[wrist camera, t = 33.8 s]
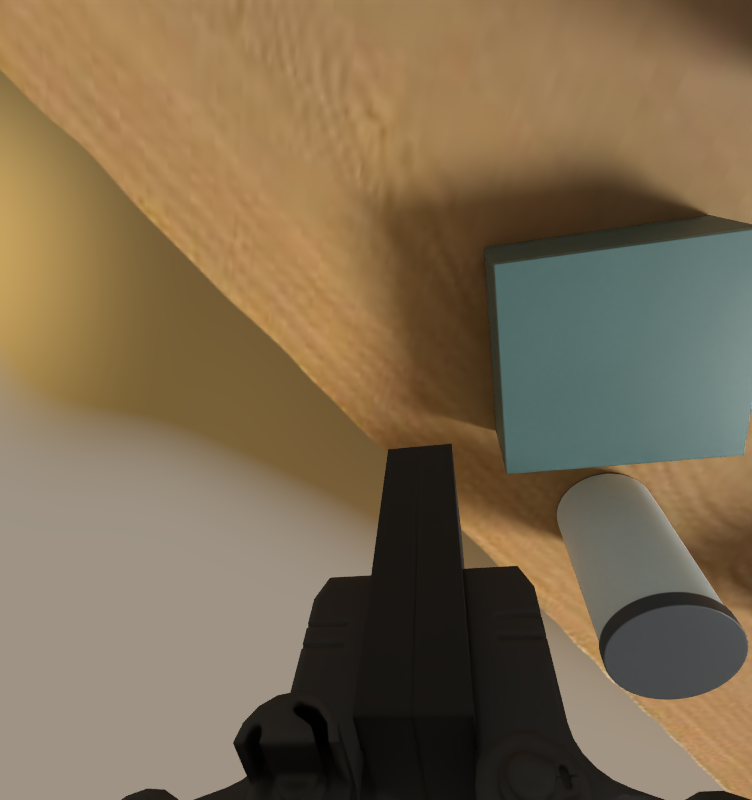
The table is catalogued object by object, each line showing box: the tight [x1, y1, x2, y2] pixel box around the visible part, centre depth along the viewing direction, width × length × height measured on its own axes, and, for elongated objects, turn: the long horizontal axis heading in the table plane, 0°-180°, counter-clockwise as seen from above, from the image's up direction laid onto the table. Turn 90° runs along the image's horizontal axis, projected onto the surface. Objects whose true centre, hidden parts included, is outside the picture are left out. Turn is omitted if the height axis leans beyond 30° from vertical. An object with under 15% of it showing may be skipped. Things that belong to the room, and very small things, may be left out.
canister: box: [557, 474, 748, 700], centre depth 43 cm, size 9×9×16 cm
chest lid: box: [493, 227, 752, 474], centre depth 37 cm, size 17×17×1 cm
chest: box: [484, 215, 752, 465], centre depth 41 cm, size 17×17×6 cm
